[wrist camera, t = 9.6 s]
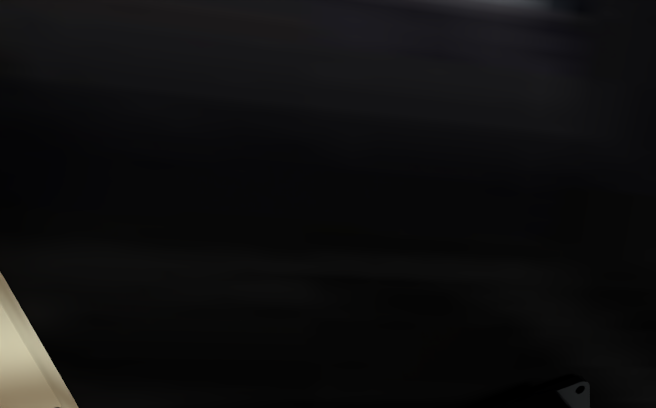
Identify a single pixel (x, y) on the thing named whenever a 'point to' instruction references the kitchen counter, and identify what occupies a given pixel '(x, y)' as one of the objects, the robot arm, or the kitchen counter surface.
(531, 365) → the kitchen counter surface
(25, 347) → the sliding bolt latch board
